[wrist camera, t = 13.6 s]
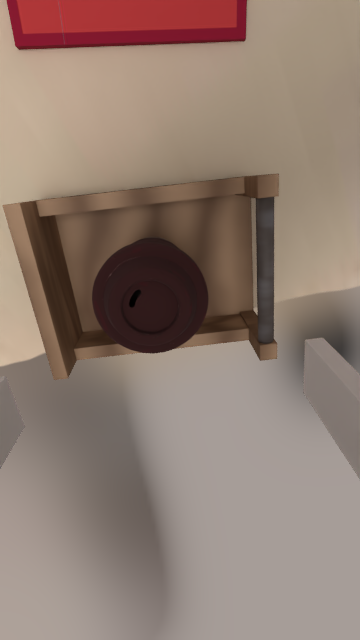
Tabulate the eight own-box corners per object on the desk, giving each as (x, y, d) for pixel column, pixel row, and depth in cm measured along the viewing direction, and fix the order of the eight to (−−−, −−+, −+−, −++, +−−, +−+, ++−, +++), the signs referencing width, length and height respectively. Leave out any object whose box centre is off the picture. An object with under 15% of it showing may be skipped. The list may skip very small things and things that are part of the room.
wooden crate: (247, 176, 38) (278, 173, 28) (251, 319, 45) (277, 358, 35) (41, 199, 38) (-3, 205, 28) (76, 339, 45) (51, 385, 35)
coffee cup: (207, 282, 42) (231, 330, 28) (139, 317, 43) (128, 380, 29) (170, 208, 38) (175, 222, 24) (97, 249, 39) (62, 285, 26)
